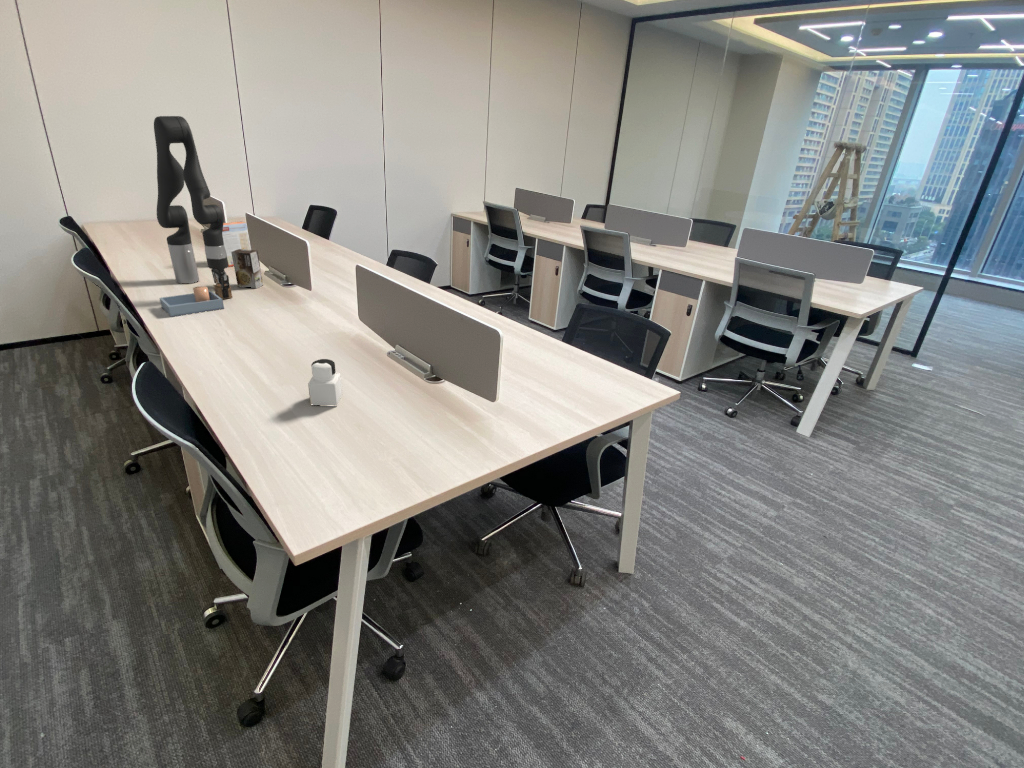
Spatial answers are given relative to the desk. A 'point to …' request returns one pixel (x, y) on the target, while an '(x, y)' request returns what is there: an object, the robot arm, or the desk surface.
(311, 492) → the desk surface
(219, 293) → the walnut cube
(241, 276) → the coffee box
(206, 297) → the tan capsule
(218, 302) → the tote
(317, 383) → the white blocky figurine
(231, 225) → the cracker box
